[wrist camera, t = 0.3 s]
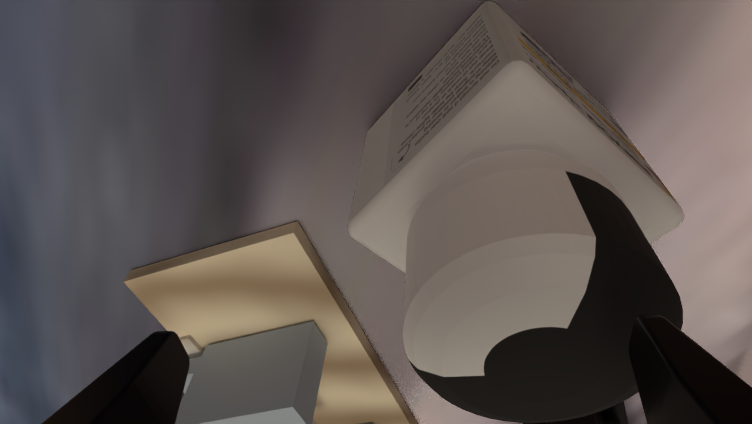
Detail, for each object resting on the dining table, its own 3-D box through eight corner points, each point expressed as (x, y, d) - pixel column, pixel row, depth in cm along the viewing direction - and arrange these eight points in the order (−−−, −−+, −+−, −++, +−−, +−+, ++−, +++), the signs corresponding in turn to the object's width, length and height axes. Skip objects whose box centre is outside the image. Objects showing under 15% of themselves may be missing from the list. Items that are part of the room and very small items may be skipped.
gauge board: (422, 430, 36) (421, 519, 31) (290, 450, 39) (270, 534, 34) (297, 220, 26) (268, 304, 21) (131, 270, 29) (72, 352, 24)
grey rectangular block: (365, 399, 32) (356, 485, 28) (243, 421, 35) (217, 503, 31) (313, 321, 28) (292, 406, 24) (179, 351, 31) (138, 434, 27)
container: (614, 116, 21) (803, 365, 11) (483, 223, 25) (527, 486, 15) (487, -7, 19) (570, 159, 8) (363, 132, 23) (312, 368, 12)
